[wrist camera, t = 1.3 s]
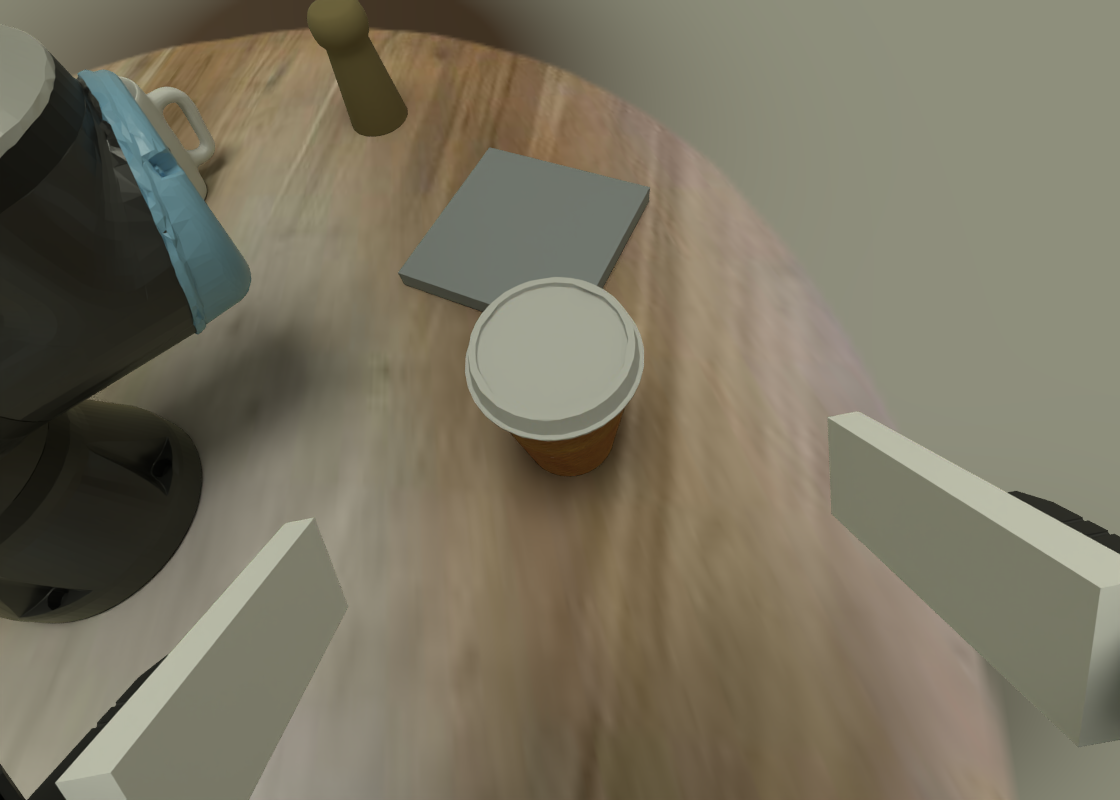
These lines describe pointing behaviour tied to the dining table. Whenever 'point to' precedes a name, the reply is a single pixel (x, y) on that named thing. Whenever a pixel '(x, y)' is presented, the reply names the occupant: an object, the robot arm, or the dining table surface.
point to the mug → (154, 112)
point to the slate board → (524, 229)
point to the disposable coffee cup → (556, 370)
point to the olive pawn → (357, 66)
